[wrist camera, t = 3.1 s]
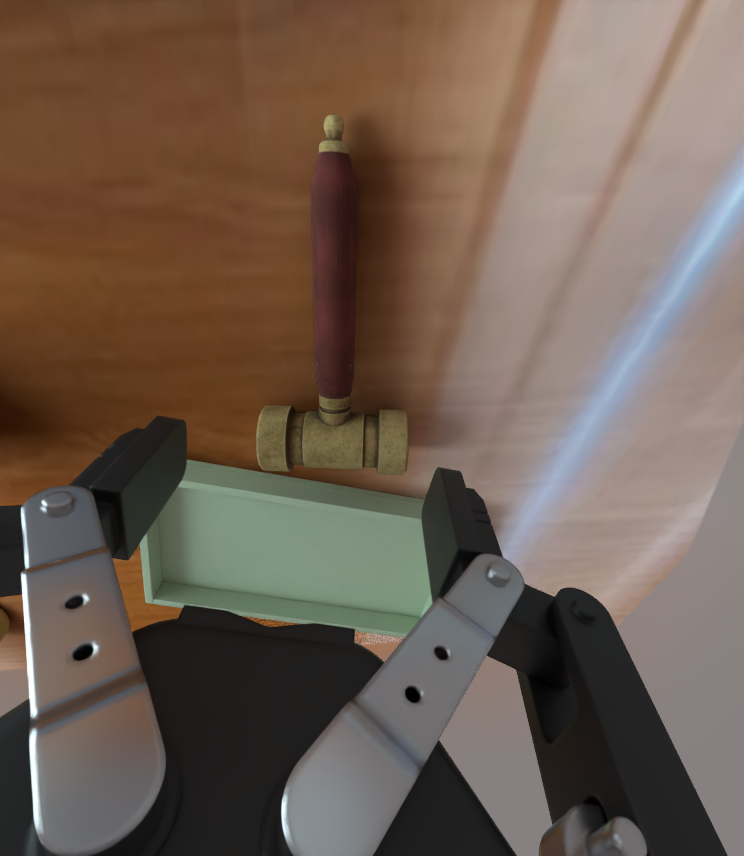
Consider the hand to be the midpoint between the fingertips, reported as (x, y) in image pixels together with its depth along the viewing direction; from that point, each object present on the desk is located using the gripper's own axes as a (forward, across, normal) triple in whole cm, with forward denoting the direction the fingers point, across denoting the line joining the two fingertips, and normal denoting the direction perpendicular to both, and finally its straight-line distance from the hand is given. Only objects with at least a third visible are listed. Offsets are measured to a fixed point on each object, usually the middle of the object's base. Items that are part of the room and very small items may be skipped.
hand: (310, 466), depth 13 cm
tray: (+16, 0, +21) cm, 26 cm away
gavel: (+16, +1, 0) cm, 17 cm away
